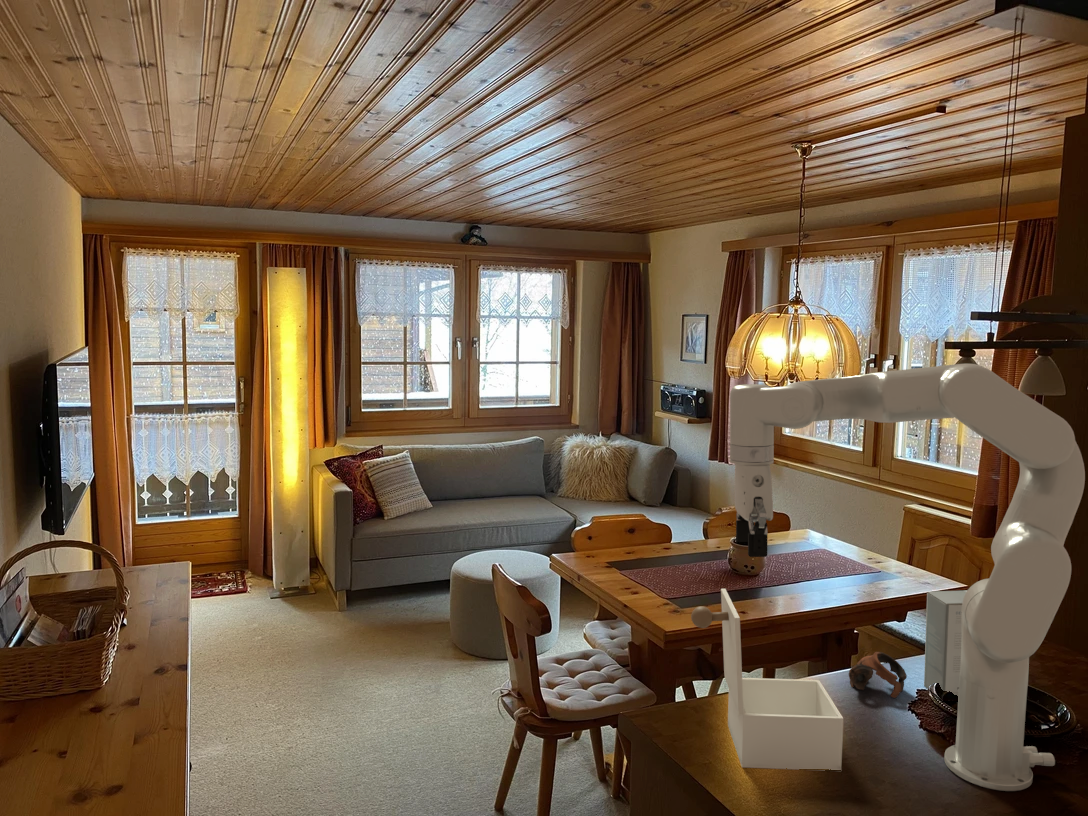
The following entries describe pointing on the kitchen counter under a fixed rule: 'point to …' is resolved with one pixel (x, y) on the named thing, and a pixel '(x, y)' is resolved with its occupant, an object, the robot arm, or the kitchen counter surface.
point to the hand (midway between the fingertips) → (751, 548)
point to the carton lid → (726, 643)
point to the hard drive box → (943, 639)
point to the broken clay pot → (878, 672)
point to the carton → (786, 725)
